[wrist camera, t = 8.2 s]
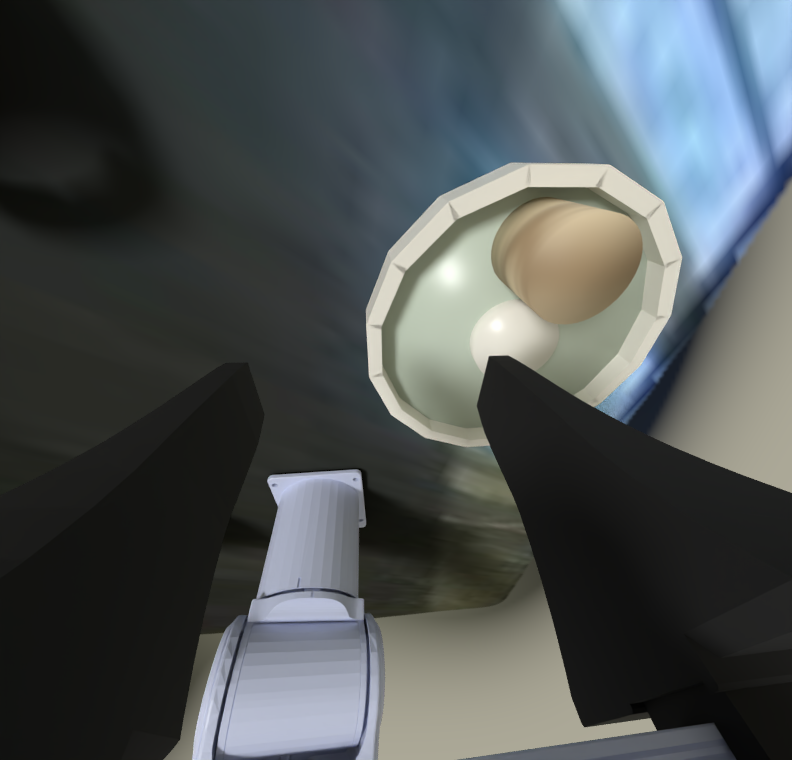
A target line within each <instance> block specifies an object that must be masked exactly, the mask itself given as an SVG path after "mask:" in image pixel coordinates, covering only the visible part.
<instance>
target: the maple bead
mask: <svg viewBox="0 0 792 760" xmlns="http://www.w3.org/2000/svg"><path fill="white" fill-rule="evenodd" d="M642 251H643V242H642V236H641V232H640V230H639V228H638V226H637V225H636V223H635V222H634V221H633V220H632V219H631V218H629V217H628V216H626V215H624V214H621V213H617V212H613V211H609V210H604V209H600V208H596V207H591V206H587V205H583V204H579V203H574V202H570V201H566V200H561V199H557V198H553V197H540V198H535V199H532V200H530V201H527V202H525V203H524V204H522V205H520V206H519V207H517V208H516V209H515V210H514V211H513V212H511V213H510V214H509V215H508V217H507V218H506V219H505V220H504V221H503V223H502V224H501V226H500V227H499V229H498V231H497V233H496V235H495V238H494V241H493V245H492V250H491V262H492V266H493V270H494V272H495V274H496V275H497V277H498V278H499V279H500V280H501V281H502V282H503V283H504V284H505V285H506V286H507V287H508V288H509V289H510V290H511V291H513V292H514V293H515V294H516V295H517V296H518V297H519V298H520V299H521V300H522V301H523V302H524V303H526V304H527V305H528V306H529V307H530V308H531V309H532V310H533V311H534V312H535V313H536V314H537V315H539V316H540V317H541V318H542V319H544V320H546V321H548V322H551V323H554V324H573V323H578V322H581V321H584V320H587V319H589V318H591V317H593V316H595V315H597V314H599V313H600V312H602V311H603V310H605V309H606V308H607V307H609V306H610V305H611V304H612V303H613V302H614V301H616V300H617V299H618V298H619V297H620V295H621V294H622V293H623V292H624V291H625V290H626V288H627V287H628V286H629V284H630V283H631V281H632V279H633V278H634V276H635V274H636V272H637V269H638V267H639V264H640V261H641V257H642Z"/></svg>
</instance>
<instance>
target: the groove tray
mask: <svg viewBox="0 0 792 760" xmlns="http://www.w3.org/2000/svg"><path fill="white" fill-rule="evenodd" d="M540 197H553V198H557V199H561V200H566V201H570V202H574V203H579V204H583V205H587V206H591V207H596V208H600V209H604V210H609V211H613V212H617V213H621V214H624V215H626V216H628V217H629V218H631V219H632V220H633V221H634V222H635V223H636V225H637V226H638V228H639V230H640V232H641V236H642V242H643V251H642V257H641V261H640V264H639V267H638V269H637V272H636V274H635V276H634V278H633V279H632V281H631V283H630V284H629V286H628V287H627V288H626V290H625V291H624V292H623V293H622V294H621V295H620V297H619V298H618V299H617V300H616V301H614V302H613V303H612V304H611V305H610V306H609V307H607V308H606V309H605V310H603V311H602V312H600V313H599V314H597V315H595V316H593V317H591V318H589V319H587V320H584V321H581V322H578V323H573V324H554V323H551V322H548V321H546V320H544V319H542V318H541V317H540V316H539V315H537V314H536V313H535V312H534V311H533V310H532V309H531V308H530V307H529V306H528V305H527V304H526V303H524V302H523V301H522V300H521V299H520V298H519V297H518V296H517V295H516V294H515V293H514V292H513V291H511V290H510V289H509V288H508V287H507V286H506V285H505V284H504V283H503V282H502V281H501V280H500V279H499V278H498V277H497V275H496V274H495V272H494V270H493V266H492V262H491V250H492V245H493V241H494V238H495V235H496V233H497V231H498V229H499V227H500V226H501V224H502V223H503V221H504V220H505V219H506V218H507V217H508V215H509V214H510V213H511V212H513V211H514V210H515V209H516V208H517V207H519V206H520V205H522V204H524V203H525V202H527V201H530V200H532V199H535V198H540ZM681 261H682V255H681V252H680V249H679V246H678V243H677V240H676V237H675V234H674V231H673V228H672V225H671V222H670V219H669V216H668V213H667V210H666V207H665V204H664V201H662V200H661V199H659V198H658V197H656V196H655V195H653V194H652V193H651V192H649V191H648V190H646V189H645V188H643V187H642V186H640V185H639V184H637V183H636V182H634V181H633V180H631V179H630V178H629V177H627V176H626V175H624V174H623V173H621V172H620V171H618V170H617V169H615V168H614V167H612V166H611V165H606V164H585V163H509V164H507V165H505V166H502V167H500V168H498V169H496V170H494V171H492V172H490V173H488V174H486V175H483V176H481V177H479V178H477V179H475V180H473V181H471V182H469V183H466V184H464V185H462V186H460V187H458V188H456V189H454V190H452V191H449V192H447V193H445V194H443V195H441V196H439V197H438V198H437V199H436V200H435V201H434V202H433V204H432V205H431V206H430V207H429V208H428V209H427V210H426V211H425V212H424V213H423V214H422V215H421V216H420V218H419V219H418V220H417V221H416V222H415V223H414V224H413V225H412V226H411V227H410V228H409V229H408V231H407V232H406V233H405V234H404V235H403V236H402V237H401V238H400V239H399V240H398V241H397V242H396V243H395V245H394V246H393V247H392V248H391V249H390V250H389V251H388V254H387V256H386V259H385V261H384V264H383V267H382V269H381V272H380V274H379V277H378V280H377V282H376V285H375V287H374V290H373V293H372V295H371V298H370V300H369V303H368V306H367V308H366V328H367V346H368V364H369V378H370V379H371V381H372V383H373V385H374V386H375V388H376V390H377V391H378V393H379V395H380V397H381V398H382V400H383V402H384V403H385V405H386V407H387V408H388V410H389V412H390V414H391V415H392V416H394V417H395V418H397V419H398V420H400V421H401V422H403V423H404V424H405V425H407V426H408V427H410V428H411V429H413V430H414V431H416V432H417V433H419V434H420V435H422V436H423V437H425V438H428V439H433V440H437V441H441V442H446V443H450V444H454V445H459V446H463V447H475V446H490V444H489V442H488V440H487V438H486V435H485V433H484V430H483V426H482V423H481V420H480V416H479V413H478V409H477V402H478V398H479V394H480V390H481V386H482V382H483V378H484V374H485V370H486V366H487V362H488V357H489V356H503V355H508V356H510V357H512V358H514V359H516V360H518V361H519V362H521V363H523V364H524V365H526V366H527V367H529V368H531V369H532V370H534V371H535V372H537V373H539V374H540V375H542V376H543V377H545V378H546V379H548V380H550V381H551V382H553V383H554V384H556V385H557V386H559V387H561V388H562V389H564V390H565V391H567V392H569V393H570V394H572V395H574V396H575V397H577V398H579V399H580V400H582V401H584V402H585V403H587V404H589V405H591V406H592V407H595V406H597V405H599V404H600V403H601V402H602V401H603V400H605V399H606V398H607V397H608V396H609V395H610V394H611V393H612V392H613V391H614V390H615V389H616V388H617V387H618V386H619V385H620V384H621V383H622V382H624V381H625V380H626V379H627V378H628V377H629V376H630V375H631V374H632V373H633V372H634V371H635V370H636V369H637V368H638V367H639V366H640V365H641V364H642V362H643V360H644V359H645V357H646V356H647V354H648V352H649V351H650V349H651V347H652V346H653V344H654V342H655V341H656V339H657V337H658V336H659V334H660V332H661V331H662V329H663V327H664V326H665V324H666V323H667V321H668V319H669V318H670V316H671V312H672V307H673V302H674V297H675V292H676V286H677V281H678V276H679V271H680V266H681Z"/></svg>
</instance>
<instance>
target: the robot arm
mask: <svg viewBox="0 0 792 760" xmlns="http://www.w3.org/2000/svg"><path fill="white" fill-rule="evenodd" d="M477 409H478V413H479V416H480V420H481V423H482V426H483V430H484V433H485V435H486V438H487V440H488V442H489V444H490V447H491V449H492V451H493V453H494V456H495V458H496V460H497V462H498V464H499V466H500V469H501V471H502V473H503V475H504V477H505V480H506V482H507V484H508V486H509V488H510V491H511V493H512V495H513V497H514V500H515V502H516V505H517V507H518V510H519V512H520V515H521V518H522V521H523V524H524V527H525V530H526V533H527V536H528V539H529V542H530V545H531V548H532V551H533V555H534V558H535V561H536V564H537V567H538V571H539V574H540V577H541V580H542V584H543V587H544V591H545V594H546V598H547V601H548V605H549V608H550V612H551V616H552V619H553V623H554V627H555V631H556V635H557V639H558V643H559V646H560V651H561V655H562V659H563V663H564V667H565V671H566V675H567V679H568V684H569V688H570V693H571V697H572V700H573V702H574V705H575V707H576V710H577V713H578V715H579V718H580V720H581V723H582V725H583V726H584V727H590V726H597V725H604V724H611V723H618V722H626V721H633V720H640V719H647V718H651V720H652V721H653V723H654V725H655V727H656V729H657V731H653V732H645V733H639V734H632V735H625V736H618V737H611V738H604V739H598V740H590V741H584V742H577V743H570V744H564V745H557V746H549V747H542V748H535V749H528V750H521V751H516V752H515V751H514V752H508V753H501V754H494V755H487V756H480V757H473V758H466V759H459V760H792V493H790V492H787V491H784V490H782V489H779V488H776V487H774V486H771V485H768V484H765V483H762V482H760V481H757V480H754V479H751V478H749V477H746V476H743V475H741V474H738V473H736V472H733V471H730V470H728V469H725V468H723V467H720V466H717V465H715V464H712V463H710V462H707V461H705V460H703V459H700V458H698V457H696V456H693V455H691V454H689V453H686V452H684V451H681V450H679V449H677V448H674V447H672V446H670V445H668V444H665V443H663V442H661V441H659V440H657V439H654V438H652V437H650V436H648V435H646V434H644V433H642V432H640V431H638V430H636V429H634V428H632V427H630V426H628V425H626V424H624V423H622V422H620V421H618V420H616V419H614V418H612V417H610V416H608V415H607V414H605V413H603V412H601V411H600V410H598V409H596V408H594V407H592V406H591V405H589V404H587V403H585V402H584V401H582V400H580V399H579V398H577V397H575V396H574V395H572V394H570V393H569V392H567V391H565V390H564V389H562V388H561V387H559V386H557V385H556V384H554V383H553V382H551V381H550V380H548V379H546V378H545V377H543V376H542V375H540V374H539V373H537V372H535V371H534V370H532V369H531V368H529V367H527V366H526V365H524V364H523V363H521V362H519V361H518V360H516V359H514V358H512V357H510V356H508V355H503V356H489V357H488V362H487V366H486V370H485V374H484V378H483V382H482V386H481V390H480V394H479V398H478V402H477ZM263 419H264V412H263V409H262V406H261V402H260V399H259V396H258V393H257V390H256V387H255V384H254V381H253V378H252V375H251V372H250V369H249V366H248V363H225V364H223V365H221V366H220V367H218V368H216V369H215V370H213V371H212V372H210V373H209V374H207V375H206V376H204V377H203V378H201V379H200V380H198V381H197V382H195V383H194V384H192V385H191V386H189V387H188V388H187V389H185V390H184V391H182V392H181V393H179V394H178V395H176V396H175V397H173V398H172V399H170V400H169V401H167V402H166V403H164V404H163V405H162V406H160V407H159V408H157V409H155V410H154V411H152V412H151V413H149V414H147V415H146V416H144V417H143V418H141V419H140V420H138V421H136V422H135V423H133V424H132V425H130V426H129V427H127V428H125V429H124V430H122V431H121V432H119V433H117V434H116V435H114V436H112V437H111V438H109V439H107V440H106V441H104V442H102V443H101V444H99V445H97V446H95V447H94V448H92V449H90V450H88V451H86V452H85V453H83V454H81V455H79V456H77V457H75V458H74V459H72V460H70V461H68V462H66V463H64V464H62V465H61V466H59V467H57V468H55V469H53V470H51V471H49V472H47V473H45V474H43V475H41V476H39V477H37V478H35V479H33V480H31V481H29V482H27V483H25V484H23V485H21V486H19V487H17V488H15V489H13V490H10V491H8V492H6V493H4V494H2V495H0V760H163V759H164V758H165V757H166V756H167V755H168V754H169V753H170V752H171V750H172V749H173V748H174V746H175V745H176V744H177V743H178V741H179V740H180V735H181V730H182V724H183V718H184V713H185V707H186V702H187V697H188V691H189V686H190V680H191V675H192V670H193V664H194V659H195V655H196V650H197V646H198V641H199V636H200V632H201V627H202V623H203V618H204V613H205V609H206V605H207V601H208V597H209V593H210V589H211V584H212V580H213V576H214V572H215V568H216V564H217V561H218V557H219V553H220V550H221V546H222V542H223V539H224V535H225V531H226V528H227V525H228V522H229V519H230V517H231V514H232V511H233V509H234V506H235V503H236V501H237V498H238V496H239V493H240V490H241V488H242V485H243V483H244V480H245V477H246V475H247V472H248V470H249V467H250V464H251V462H252V459H253V456H254V454H255V451H256V448H257V445H258V442H259V437H260V433H261V429H262V424H263ZM268 484H269V486H270V489H271V491H272V493H273V496H274V498H275V501H276V503H277V505H278V511H277V515H276V519H275V524H274V528H273V532H272V536H271V540H270V544H269V549H268V553H267V557H266V561H265V565H264V569H263V574H262V578H261V582H260V586H259V590H258V594H257V599H253V600H252V603H251V607H250V611H249V615H248V616H247V615H239V616H238V617H237V618H236V619H235V621H234V622H233V623H231V624H230V625H229V626H228V627H227V629H226V630H225V632H224V634H223V636H222V639H221V642H220V644H219V647H218V650H217V653H216V656H215V659H214V662H213V665H212V668H211V672H210V675H209V678H208V682H207V685H206V689H205V693H204V697H203V701H202V705H201V709H200V713H199V717H198V722H197V727H196V732H195V738H194V746H193V751H194V752H193V757H192V760H378V745H379V730H380V725H381V720H382V714H383V706H384V690H385V662H384V649H383V641H382V635H381V631H380V628H379V626H378V624H377V623H376V622H375V620H374V617H373V616H372V614H370V613H364V599H362V598H358V559H359V528H361V527H365V526H366V515H365V505H364V495H363V485H362V475H361V471H360V470H357V469H353V470H338V471H324V472H309V473H294V474H279V475H271V476H269V477H268Z"/></svg>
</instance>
